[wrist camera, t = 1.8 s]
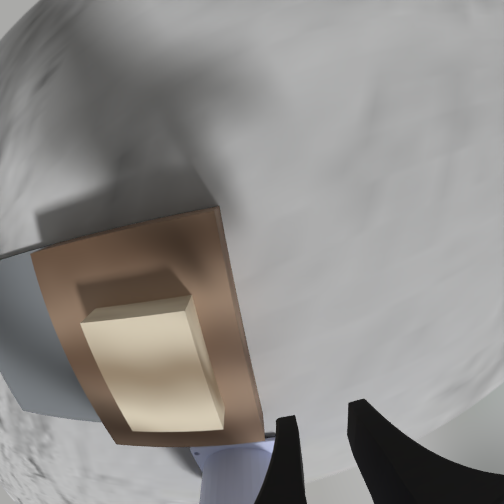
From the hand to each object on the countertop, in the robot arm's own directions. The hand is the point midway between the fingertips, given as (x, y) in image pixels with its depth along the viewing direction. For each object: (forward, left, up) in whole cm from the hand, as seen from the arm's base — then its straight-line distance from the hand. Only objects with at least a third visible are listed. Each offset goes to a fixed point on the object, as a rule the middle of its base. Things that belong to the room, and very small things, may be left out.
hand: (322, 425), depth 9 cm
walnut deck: (0, +9, -9) cm, 13 cm away
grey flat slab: (0, +22, -9) cm, 24 cm away
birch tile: (0, +8, -6) cm, 10 cm away
